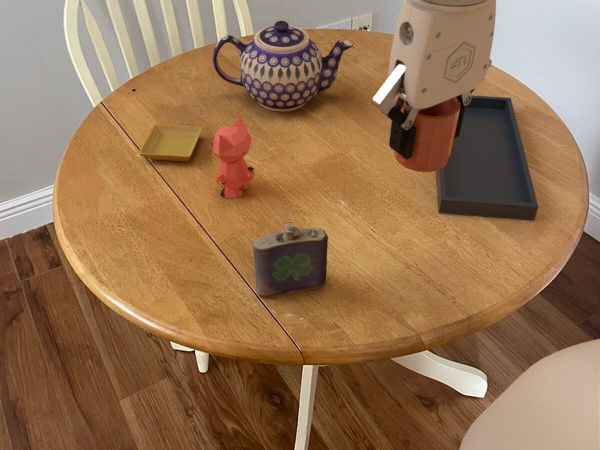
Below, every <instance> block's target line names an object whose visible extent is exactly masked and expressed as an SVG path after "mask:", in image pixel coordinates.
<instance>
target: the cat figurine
mask: <svg viewBox="0 0 600 450" xmlns="http://www.w3.org/2000/svg"><path fill="white" fill-rule="evenodd" d="M252 140H253V139H252V136H251V135H250V134H249V132H248V129H247V127H246V124H245V121H244V119H243V116H242V114H241V113H239V115H238V117H237V119H236V120H235V122H234V124H233V125H226V126H223V127H221V128H220V129H218V130H216V132H215V136H214V138H213V141H212V142H211V146H212V147H211V148H210V149H208V151H207V153H206V155H208V154H209V156H208V158H207V160H209V159H210V156H211V153H213V154H214V155H215V157H216V158H217V159H218V160H220V164H219V169H218V174H217V177H216V182H217V184H220V185H223V186H225V187H224V188H223V189H222V190H221V191H220V194H219V196H220V197H222V198H224V199H237V198H240V197H243V192H242V191H241V190H247V189H249V186H248V183H251V182H252V181H253V179H254V178H255V176H256V173H255V167H252V166H248V164H247V162H246V160H245V159H244V157H245V156H247V154H248V153H249V151H250V148H251V144H252Z"/></svg>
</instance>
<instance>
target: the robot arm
mask: <svg viewBox="0 0 600 450" xmlns="http://www.w3.org/2000/svg"><path fill="white" fill-rule="evenodd" d="M402 1H403V2H402V4H401V7H400V11H399V14H398V18H397V22H396V26H395V30H394V34H393V39H392V44H391V50H390V55H389V62H388V63H389V64H388V70H387V79H386V80H385V81H384V82H383V83H382V85H381V86H380V88H379V89H378V90H377V92H376V93H375V95H374V96H373V97H372V99H371V104H372V105H373V106H374V107H375V108H376V109H377V110H379V112H381V113H382V114H383V115H385V116H386V117H387V119H389V120H390V121H391V124H390V125H391V126H390V131H389V133H390V134H389V141H388V145H389V148H390V149H392V150H393V151H394V152H395V151H396V152H397V153H398V154H400V155H401V156H402V157H404V158H405V159H409V158H411V157H412V154H413V148H414V142H415V135H416V128H415V127H414V126H413V123H414V121H415V119H416V116H417V114H418V112H419V110H420V109H425V108H428V107H431V106H434V105H436V104H439V103H441V102H444V101H446V100H449V99H451V98H454V97H457V99H458V100H459V102H460V112H459V117H458V121H457V126H456V131H455V136H454V138H456V137H459V135H460V130H461V126H462V121H463V116H464V112H465V107H464V106H466V105H468V104H469V103H470V101H471V99H472V97H471V95H472V94H473V92H474V91H475V89H476V88H478V87H479V86H481V85H482V84H483V83H484V81H485V79H486V77H487V74H488V70H489V69H490V68H491V66H492V64H493V61H492V59H491V54H492V47H493V43H494V35H495V27H496V16H497V0H402ZM405 101H406V102H407V103H408V104H410V105H409V107H408V109H407V112H406V114H404V113H403V112H401V109H402V107H403V104H404V102H405ZM458 450H600V338H595V339H593V340H588V341H585V342H584V341H583V342H580V343H578V344H575V345H570V346H568V347H565V348H563V349H560V350H558V351H555V352H553V353H551V354H549V355H546V356H544V357H543V358H541V359H539V360H538V361H536V362H535V363H533V364H532V365H530V366H529V367H528V368H527V369H525V371H524V372H523V373H521V374H520V375H519V376H518V377H517V378H516V379H515V380H514V381H513V382H512V383H511V384H510V385H509V386H508V387H507V388H506V389H505V390H504V391H503V392H502V393H501V394H500V395H499V396H498V397H497V398H496V399H495V400H494V401H493V402H492V403H491V404H490V405H489V406H488V407H487V408H485V410H483V412H481V413H480V415H478V417H477V418H476V419H475V420H474V421H473V422H472V424H471V425H470V426H469V428H468V430H467V431H466V433H465V434H464V437H463V439H462V441H461V443H460V446H459V448H458Z"/></svg>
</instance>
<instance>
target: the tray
mask: <svg viewBox="0 0 600 450" xmlns="http://www.w3.org/2000/svg"><path fill="white" fill-rule="evenodd" d="M471 97H472V99H471V101H470V103H469V104H468V105H466V106H464V107H465V112H464V116H463V121H462V126H461V130H460V135H459V137H456V138H454V140H453V145H452V150H451V155H450V158H449V161H448V163H447V165H446V166H445V167H443V168H442V169H440V170H437V171H435V179H436V181H435V182H436V195H437V210H438V214H449V215H463V216H475V217H487V218H501V219H513V220H526V221H535V217H536V214H537V212H538V209H539V204H538V200H537V195H536V192H535V188H534V183H533V181H532V175H531V173H530V167H529V164H528V160H527V156H526V153H525V149H524V144H523V140H522V137H521V133H520V132H521V131H520V129H519V124H518V120H517V117H516V113H515V109H514V105H513V101H512V97H508V96H507V97H505V96H489V95H488V96H487V95H472V94H471Z"/></svg>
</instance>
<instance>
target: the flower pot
mask: <svg viewBox="0 0 600 450" xmlns="http://www.w3.org/2000/svg"><path fill="white" fill-rule="evenodd" d="M409 105H410V104H408V103H407V102H406V101H405V102H404V104H403V107H402V109H401V112H403V113H404V114H406V112H407V109H408V107H409ZM459 112H460V102H459V100H458V99H457V97H454V98H451V99H449V100H446V101H444V102H441V103H439V104H436V105H434V106H431V107H428V108H425V109H420V110H419V112H418V114H417V116H416V119H415V121H414V123H413V126H414V127H415V128H416V135H415V142H414V148H413V154H412V157H411V158H409V159H405V158H404V157H402V156H401V155H400V154H398V153H397V152H396V151H394V158H395V160H396V161H397V162H398V164H399V165H400V166H402V167H404V168H406V169H408V170H410V171H414V172H419V173H432V172H436V171H437V170H440V169H442V168H443V167H445V166H446V165H447V163H448V161H449V158H450V155H451V150H452V145H453V140H454V136H455V131H456V126H457V121H458V117H459Z"/></svg>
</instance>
